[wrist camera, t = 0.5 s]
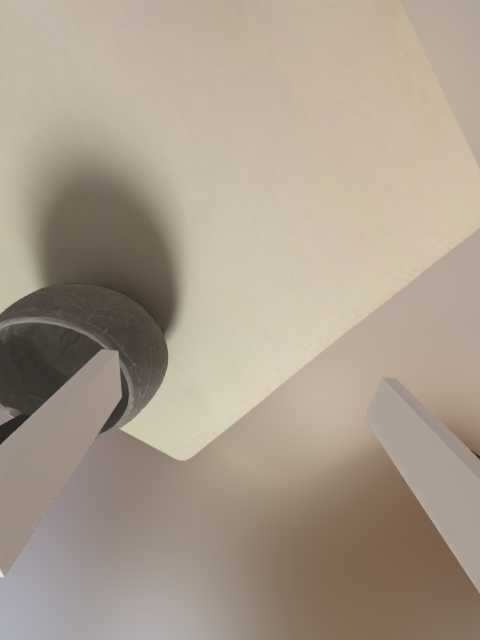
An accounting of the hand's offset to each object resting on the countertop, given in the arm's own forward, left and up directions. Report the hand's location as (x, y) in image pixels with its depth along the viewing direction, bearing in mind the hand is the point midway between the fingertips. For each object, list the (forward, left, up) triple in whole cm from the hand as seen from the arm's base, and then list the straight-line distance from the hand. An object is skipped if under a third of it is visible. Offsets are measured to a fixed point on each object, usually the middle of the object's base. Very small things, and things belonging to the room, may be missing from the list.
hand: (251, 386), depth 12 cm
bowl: (+9, -22, -28) cm, 37 cm away
